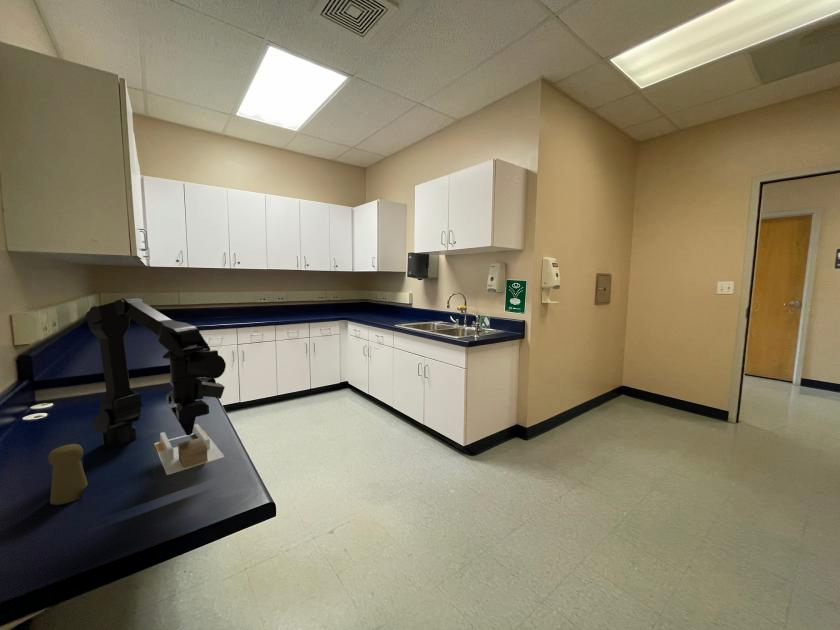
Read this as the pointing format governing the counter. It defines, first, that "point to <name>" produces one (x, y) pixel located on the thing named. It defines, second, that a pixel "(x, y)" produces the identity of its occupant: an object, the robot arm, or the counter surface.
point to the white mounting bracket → (171, 455)
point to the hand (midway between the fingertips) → (189, 434)
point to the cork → (67, 474)
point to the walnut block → (192, 452)
